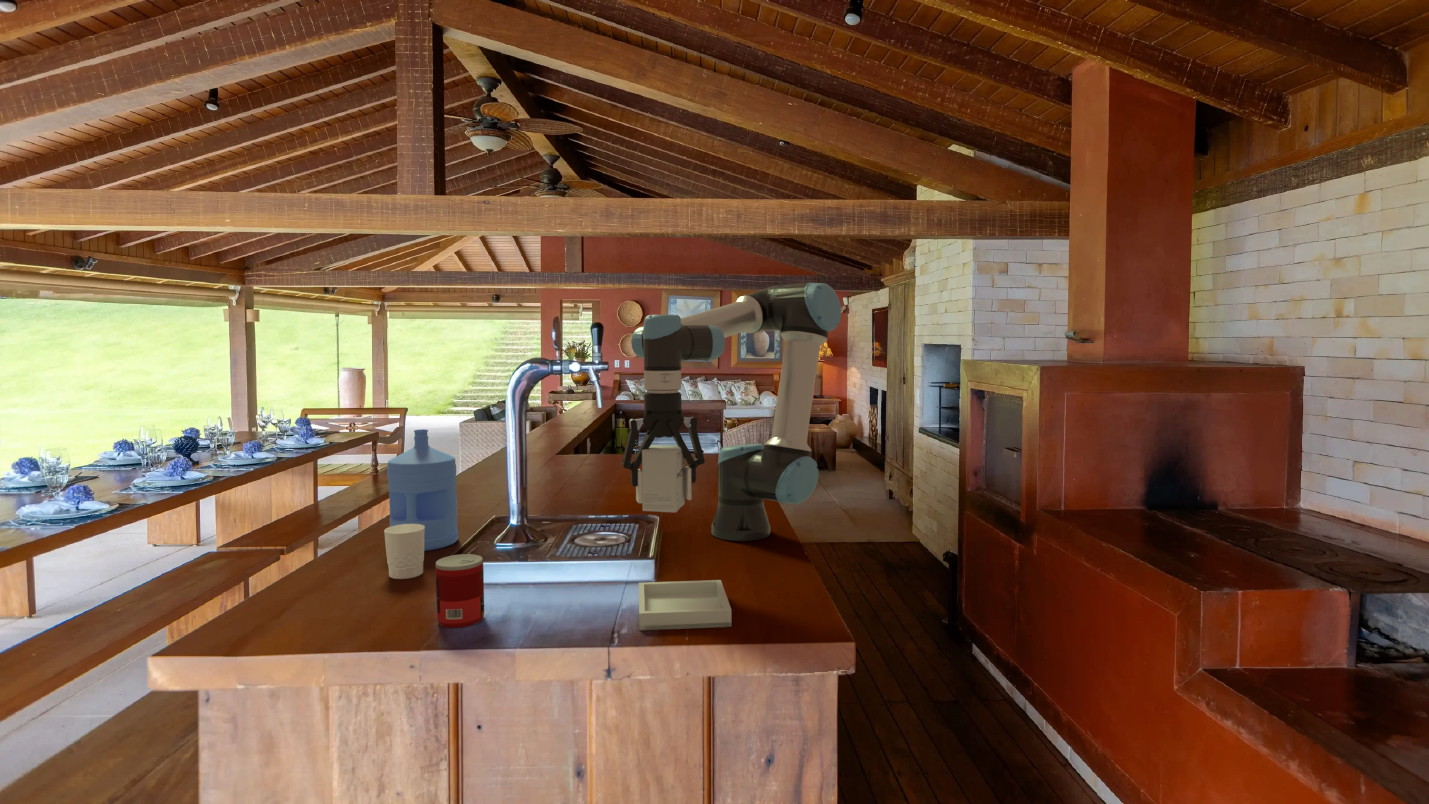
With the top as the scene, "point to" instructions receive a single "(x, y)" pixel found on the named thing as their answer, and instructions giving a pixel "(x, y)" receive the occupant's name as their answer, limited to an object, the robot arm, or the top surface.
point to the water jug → (424, 492)
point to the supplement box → (663, 478)
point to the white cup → (405, 550)
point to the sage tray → (683, 605)
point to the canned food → (460, 590)
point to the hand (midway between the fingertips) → (663, 500)
